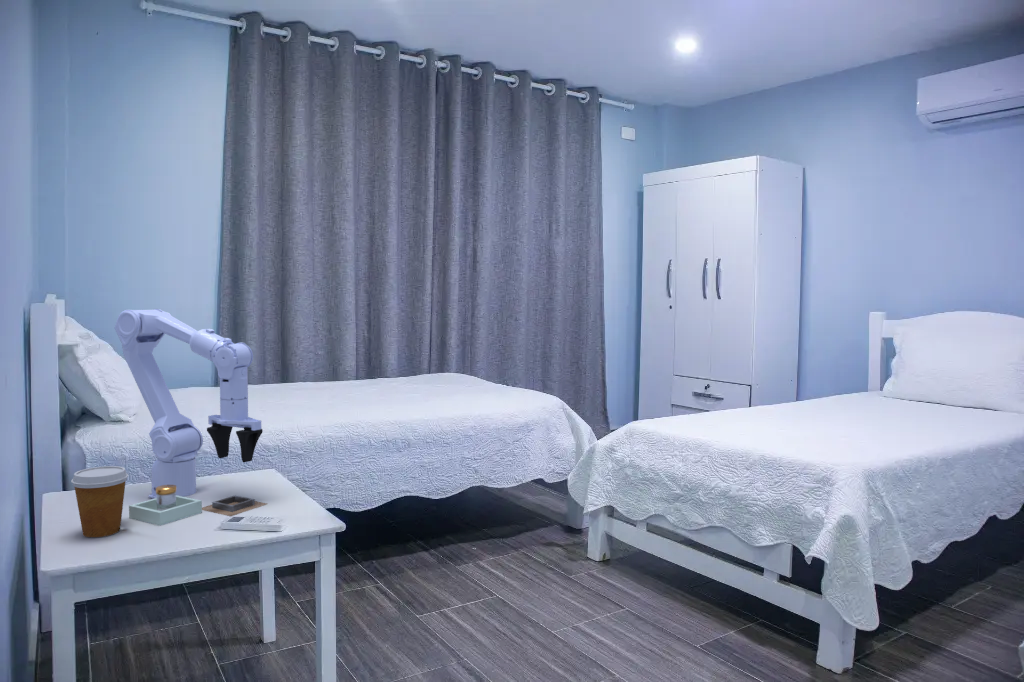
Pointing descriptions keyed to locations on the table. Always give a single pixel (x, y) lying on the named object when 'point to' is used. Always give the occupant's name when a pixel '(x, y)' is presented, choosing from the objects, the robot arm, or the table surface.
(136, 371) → the robot arm
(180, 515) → the bin
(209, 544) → the table surface
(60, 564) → the table surface
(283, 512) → the table surface
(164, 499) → the metal can
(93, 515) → the disposable coffee cup
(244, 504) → the socket plate
